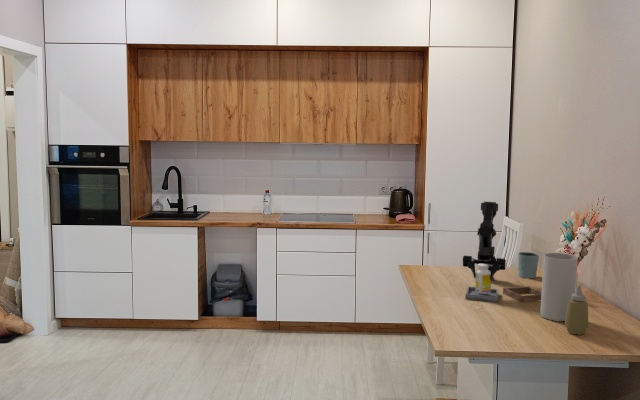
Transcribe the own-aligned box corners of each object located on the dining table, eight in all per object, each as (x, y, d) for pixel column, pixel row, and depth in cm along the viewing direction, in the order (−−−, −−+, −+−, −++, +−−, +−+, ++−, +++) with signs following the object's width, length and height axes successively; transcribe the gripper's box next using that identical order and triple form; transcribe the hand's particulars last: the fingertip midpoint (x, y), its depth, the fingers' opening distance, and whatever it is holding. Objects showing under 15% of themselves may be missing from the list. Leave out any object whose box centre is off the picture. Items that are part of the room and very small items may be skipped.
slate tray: (467, 291, 272) (467, 286, 272) (498, 294, 268) (498, 289, 268) (465, 299, 260) (465, 294, 259) (497, 302, 255) (497, 297, 255)
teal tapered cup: (516, 277, 300) (517, 254, 298) (517, 273, 309) (518, 251, 308) (537, 280, 296) (538, 256, 295) (538, 275, 305) (539, 252, 304)
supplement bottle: (493, 292, 264) (493, 264, 263) (486, 295, 259) (486, 266, 258) (479, 289, 268) (479, 262, 267) (472, 293, 263) (472, 264, 262)
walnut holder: (502, 293, 270) (503, 288, 269) (528, 291, 274) (529, 286, 273) (521, 302, 256) (522, 296, 256) (548, 300, 260) (549, 294, 260)
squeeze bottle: (586, 330, 220) (590, 284, 218) (589, 337, 212) (592, 289, 210) (563, 328, 223) (566, 281, 221) (564, 335, 215) (568, 287, 213)
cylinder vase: (533, 314, 239) (536, 254, 236) (556, 311, 244) (560, 252, 241) (556, 323, 228) (560, 260, 225) (580, 320, 233) (585, 258, 230)
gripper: (463, 238, 267) (460, 267, 258) (506, 241, 262) (505, 271, 253) (464, 251, 276) (461, 280, 267) (506, 254, 270) (504, 284, 261)
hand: (482, 278), depth 262 cm, fingers closed on supplement bottle, 7 cm apart
